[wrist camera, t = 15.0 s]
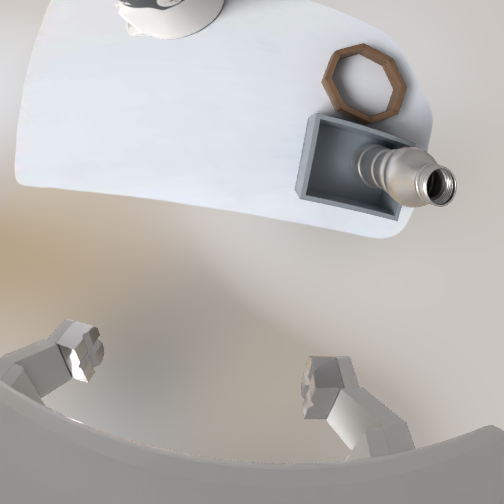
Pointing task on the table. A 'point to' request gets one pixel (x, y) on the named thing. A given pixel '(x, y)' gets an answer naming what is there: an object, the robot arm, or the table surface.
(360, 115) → the collar
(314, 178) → the bin
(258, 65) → the table surface
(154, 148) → the table surface
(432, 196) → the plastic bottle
